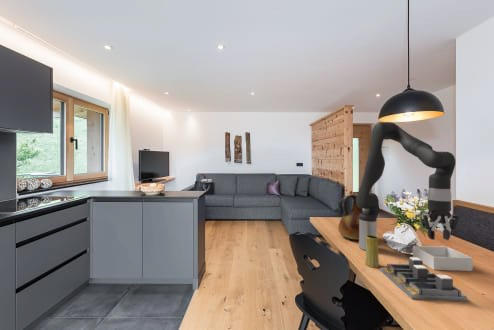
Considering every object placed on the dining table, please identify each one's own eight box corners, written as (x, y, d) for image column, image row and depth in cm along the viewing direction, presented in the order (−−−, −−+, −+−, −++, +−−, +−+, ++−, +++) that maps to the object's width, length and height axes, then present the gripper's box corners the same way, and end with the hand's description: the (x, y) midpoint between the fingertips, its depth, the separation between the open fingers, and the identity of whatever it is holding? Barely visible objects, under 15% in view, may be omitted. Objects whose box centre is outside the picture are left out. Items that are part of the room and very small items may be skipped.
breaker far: (408, 269, 104) (408, 257, 104) (417, 269, 104) (417, 257, 104) (413, 272, 101) (413, 259, 101) (422, 273, 101) (422, 260, 101)
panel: (380, 270, 107) (380, 263, 107) (424, 272, 105) (424, 264, 105) (411, 298, 85) (411, 289, 85) (467, 300, 83) (467, 291, 83)
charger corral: (412, 256, 122) (412, 245, 122) (446, 257, 121) (447, 246, 121) (433, 269, 108) (433, 257, 108) (472, 270, 107) (472, 258, 106)
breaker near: (435, 289, 88) (435, 274, 88) (446, 289, 88) (446, 274, 88) (441, 293, 85) (441, 278, 85) (452, 293, 85) (452, 278, 85)
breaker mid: (412, 278, 97) (412, 264, 96) (422, 278, 96) (422, 265, 96) (417, 282, 94) (417, 268, 93) (427, 282, 93) (427, 268, 93)
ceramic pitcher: (377, 243, 143) (377, 196, 143) (345, 242, 143) (345, 196, 143) (362, 233, 163) (362, 192, 162) (334, 233, 163) (334, 192, 163)
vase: (366, 261, 117) (366, 234, 117) (380, 264, 113) (380, 236, 113) (363, 265, 112) (364, 237, 112) (377, 269, 108) (378, 239, 108)
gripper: (449, 197, 97) (449, 236, 98) (415, 197, 98) (414, 235, 98) (465, 200, 90) (464, 242, 90) (428, 200, 91) (427, 242, 91)
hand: (438, 238), depth 94 cm, fingers open, 5 cm apart
